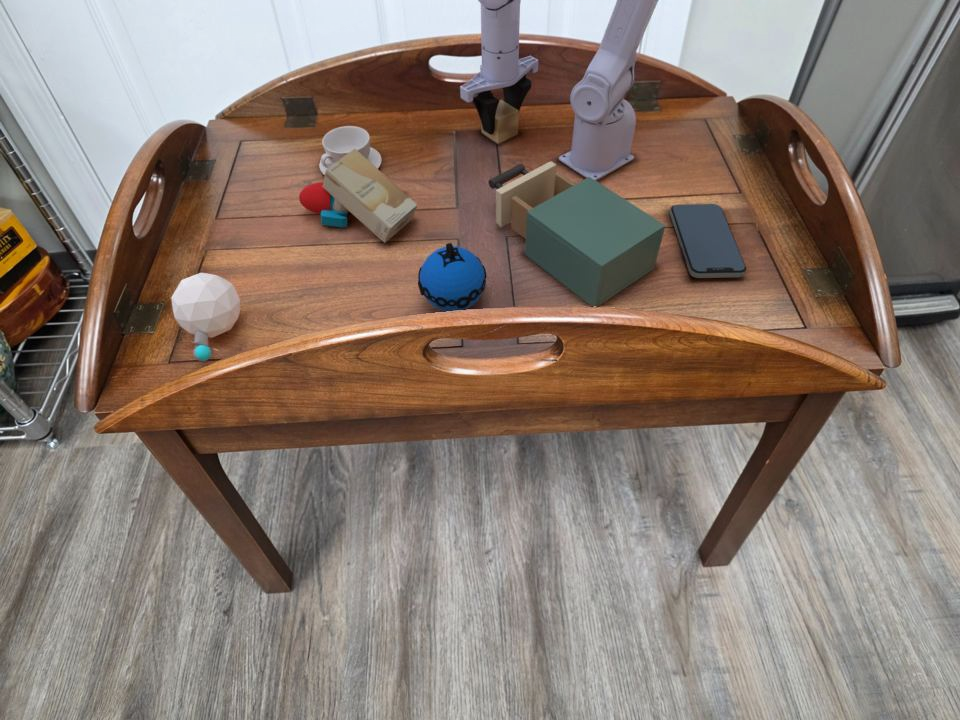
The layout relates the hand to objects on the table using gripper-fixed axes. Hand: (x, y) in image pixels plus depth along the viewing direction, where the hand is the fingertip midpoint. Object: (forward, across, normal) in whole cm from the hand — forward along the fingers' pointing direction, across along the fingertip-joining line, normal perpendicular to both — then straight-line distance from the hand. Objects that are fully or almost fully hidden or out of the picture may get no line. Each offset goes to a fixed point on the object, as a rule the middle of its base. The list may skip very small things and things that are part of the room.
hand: (499, 125), depth 108 cm
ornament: (+2, +30, +26) cm, 40 cm away
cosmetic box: (0, +27, +11) cm, 29 cm away
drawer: (0, +11, +22) cm, 25 cm away
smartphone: (+2, -4, +40) cm, 40 cm away
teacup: (+2, +24, -9) cm, 26 cm away
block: (+1, 0, 0) cm, 1 cm away
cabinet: (+1, +11, +32) cm, 34 cm away
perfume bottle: (+2, +57, +11) cm, 58 cm away
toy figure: (+2, +30, +1) cm, 30 cm away
